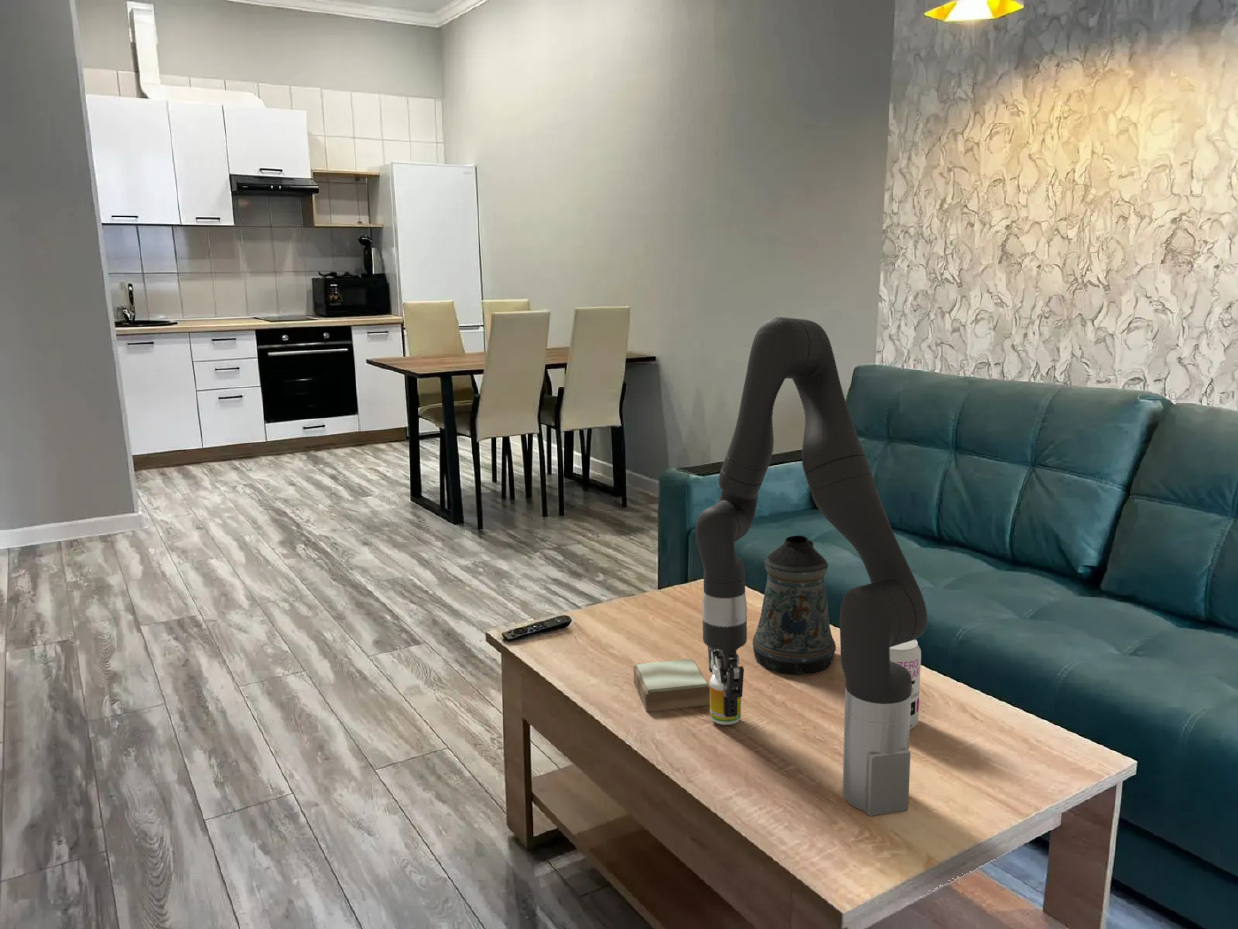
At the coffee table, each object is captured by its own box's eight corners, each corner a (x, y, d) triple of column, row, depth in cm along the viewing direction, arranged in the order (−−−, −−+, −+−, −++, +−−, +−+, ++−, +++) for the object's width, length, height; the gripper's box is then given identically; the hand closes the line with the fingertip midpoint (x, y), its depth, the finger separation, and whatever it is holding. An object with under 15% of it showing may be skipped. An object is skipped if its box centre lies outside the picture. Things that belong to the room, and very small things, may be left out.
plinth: (710, 705, 160) (710, 684, 159) (646, 712, 158) (645, 691, 157) (694, 676, 172) (694, 657, 171) (633, 682, 170) (633, 663, 169)
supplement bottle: (740, 726, 151) (739, 674, 149) (708, 724, 152) (707, 672, 150) (741, 712, 156) (741, 660, 154) (711, 710, 157) (710, 659, 155)
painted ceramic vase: (759, 677, 171) (759, 554, 165) (745, 637, 190) (745, 525, 184) (844, 675, 170) (847, 552, 165) (822, 635, 189) (824, 523, 184)
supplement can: (883, 706, 158) (885, 627, 155) (926, 721, 152) (930, 640, 149) (859, 722, 152) (861, 641, 149) (903, 739, 146) (907, 655, 143)
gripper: (759, 630, 144) (759, 725, 147) (733, 600, 158) (733, 687, 161) (715, 634, 143) (716, 730, 146) (692, 604, 157) (694, 692, 160)
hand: (725, 707), depth 154 cm, fingers closed on supplement bottle, 5 cm apart
